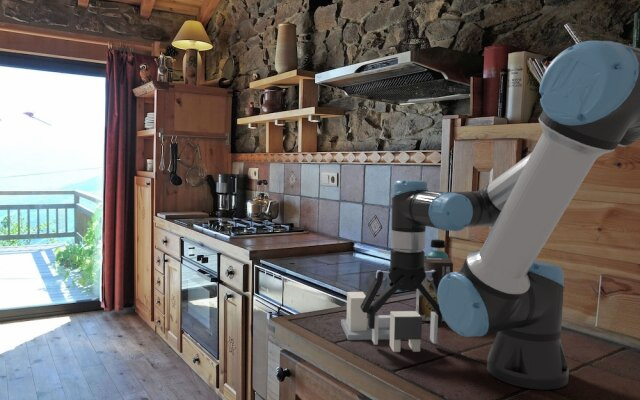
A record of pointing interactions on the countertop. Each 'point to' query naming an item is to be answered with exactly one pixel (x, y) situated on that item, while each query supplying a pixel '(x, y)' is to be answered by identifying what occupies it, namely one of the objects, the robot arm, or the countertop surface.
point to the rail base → (362, 320)
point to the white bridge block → (405, 329)
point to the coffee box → (442, 268)
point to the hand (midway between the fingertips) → (404, 342)
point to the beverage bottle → (435, 252)
